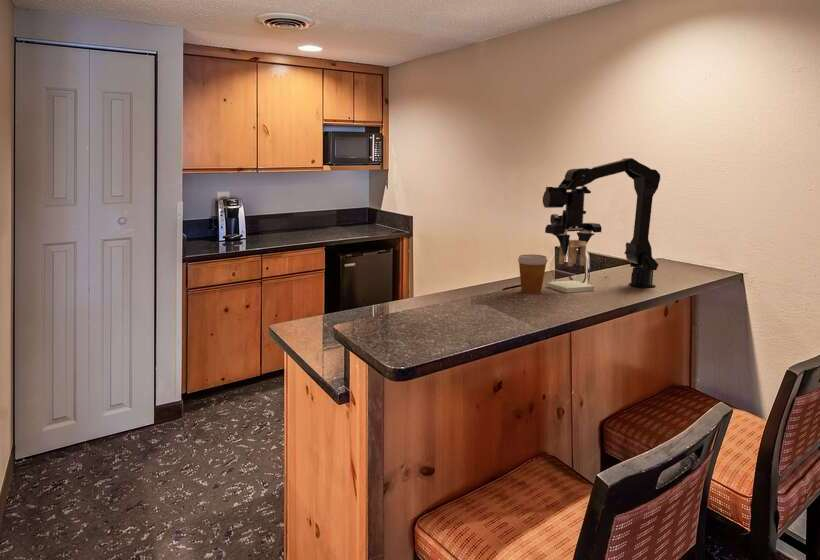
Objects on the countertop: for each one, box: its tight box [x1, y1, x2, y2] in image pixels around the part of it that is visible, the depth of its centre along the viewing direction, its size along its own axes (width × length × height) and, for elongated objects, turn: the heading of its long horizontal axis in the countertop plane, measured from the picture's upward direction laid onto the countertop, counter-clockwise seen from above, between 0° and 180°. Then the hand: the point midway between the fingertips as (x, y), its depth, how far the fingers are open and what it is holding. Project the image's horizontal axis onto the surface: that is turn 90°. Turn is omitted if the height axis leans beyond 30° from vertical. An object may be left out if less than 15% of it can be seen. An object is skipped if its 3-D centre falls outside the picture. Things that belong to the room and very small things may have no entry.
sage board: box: [546, 279, 595, 294], centre depth 192 cm, size 11×11×2 cm
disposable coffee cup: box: [517, 253, 548, 295], centre depth 185 cm, size 10×10×12 cm
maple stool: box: [558, 239, 587, 267], centre depth 190 cm, size 6×6×8 cm
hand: (572, 254), depth 190 cm, fingers closed on maple stool, 6 cm apart
